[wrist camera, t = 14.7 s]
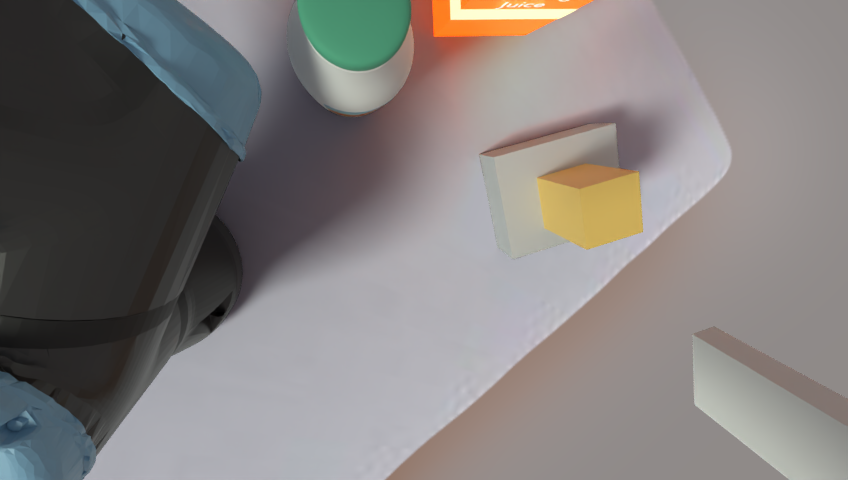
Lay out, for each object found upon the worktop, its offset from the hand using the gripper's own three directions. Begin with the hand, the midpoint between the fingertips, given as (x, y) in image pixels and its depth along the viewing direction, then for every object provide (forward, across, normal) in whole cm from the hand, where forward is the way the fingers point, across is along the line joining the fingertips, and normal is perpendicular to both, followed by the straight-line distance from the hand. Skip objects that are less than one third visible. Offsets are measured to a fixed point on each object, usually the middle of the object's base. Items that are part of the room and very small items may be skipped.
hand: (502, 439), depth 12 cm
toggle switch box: (+29, +16, -1) cm, 33 cm away
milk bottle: (+29, 0, +14) cm, 32 cm away
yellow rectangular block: (+25, +16, -1) cm, 30 cm away
